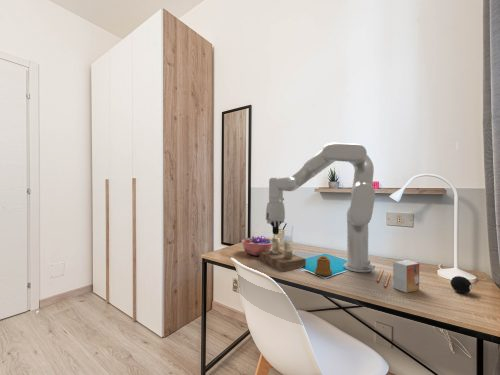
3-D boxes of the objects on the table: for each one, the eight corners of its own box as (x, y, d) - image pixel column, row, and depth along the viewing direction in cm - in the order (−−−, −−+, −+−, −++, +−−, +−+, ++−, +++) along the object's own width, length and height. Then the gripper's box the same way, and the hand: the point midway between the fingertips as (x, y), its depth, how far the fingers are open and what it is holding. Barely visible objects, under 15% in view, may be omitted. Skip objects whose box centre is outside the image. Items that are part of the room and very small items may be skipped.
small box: (406, 293, 91) (406, 265, 91) (392, 287, 97) (392, 261, 97) (419, 289, 95) (420, 263, 95) (405, 284, 100) (405, 259, 100)
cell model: (251, 249, 156) (251, 231, 156) (278, 254, 145) (278, 235, 145) (234, 255, 143) (235, 235, 142) (263, 261, 131) (263, 240, 131)
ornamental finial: (335, 275, 110) (320, 277, 108) (325, 270, 117) (312, 271, 115) (335, 258, 110) (320, 259, 108) (326, 253, 117) (312, 254, 115)
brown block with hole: (305, 266, 121) (305, 243, 121) (283, 271, 115) (283, 246, 115) (279, 255, 141) (279, 235, 141) (259, 259, 134) (259, 237, 134)
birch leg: (276, 258, 135) (276, 237, 135) (281, 260, 131) (281, 238, 131) (270, 260, 133) (270, 238, 133) (275, 262, 129) (275, 239, 129)
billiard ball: (455, 288, 96) (455, 273, 96) (474, 293, 91) (474, 278, 91) (447, 291, 94) (447, 275, 94) (467, 297, 88) (467, 280, 88)
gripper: (282, 199, 139) (282, 231, 139) (260, 200, 132) (260, 233, 132) (291, 200, 132) (290, 233, 132) (268, 201, 125) (267, 236, 125)
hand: (275, 233), depth 132 cm, fingers closed
